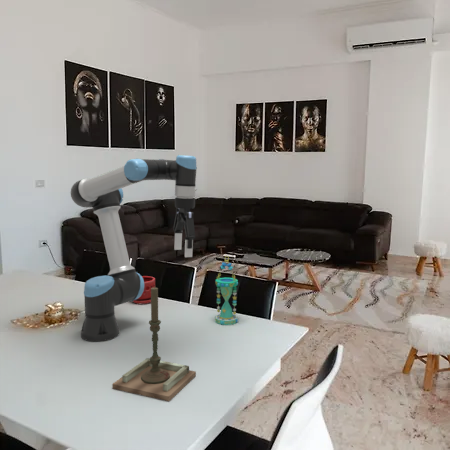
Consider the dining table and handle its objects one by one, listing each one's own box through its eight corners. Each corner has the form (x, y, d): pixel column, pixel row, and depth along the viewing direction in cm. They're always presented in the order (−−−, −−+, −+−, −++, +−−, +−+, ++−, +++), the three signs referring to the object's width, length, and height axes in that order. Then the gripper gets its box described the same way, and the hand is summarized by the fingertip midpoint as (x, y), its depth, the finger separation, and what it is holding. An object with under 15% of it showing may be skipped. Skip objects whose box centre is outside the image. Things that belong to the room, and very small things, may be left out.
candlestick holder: (164, 385, 141) (163, 290, 137) (136, 382, 143) (134, 288, 139) (173, 372, 150) (172, 283, 146) (147, 369, 151) (145, 281, 148)
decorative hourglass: (210, 323, 202) (210, 256, 198) (219, 316, 212) (220, 252, 208) (233, 326, 197) (234, 258, 194) (242, 319, 207) (242, 254, 204)
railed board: (112, 388, 142) (112, 377, 141) (143, 365, 158) (143, 355, 158) (169, 401, 134) (169, 390, 134) (195, 375, 151) (195, 365, 150)
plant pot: (142, 296, 242) (142, 274, 241) (160, 300, 235) (160, 278, 233) (123, 302, 232) (123, 279, 230) (142, 307, 224) (141, 283, 222)
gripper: (205, 200, 160) (203, 260, 163) (184, 194, 183) (182, 246, 186) (185, 200, 157) (183, 260, 160) (166, 194, 180) (164, 247, 183)
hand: (182, 253), depth 173 cm, fingers open, 13 cm apart
